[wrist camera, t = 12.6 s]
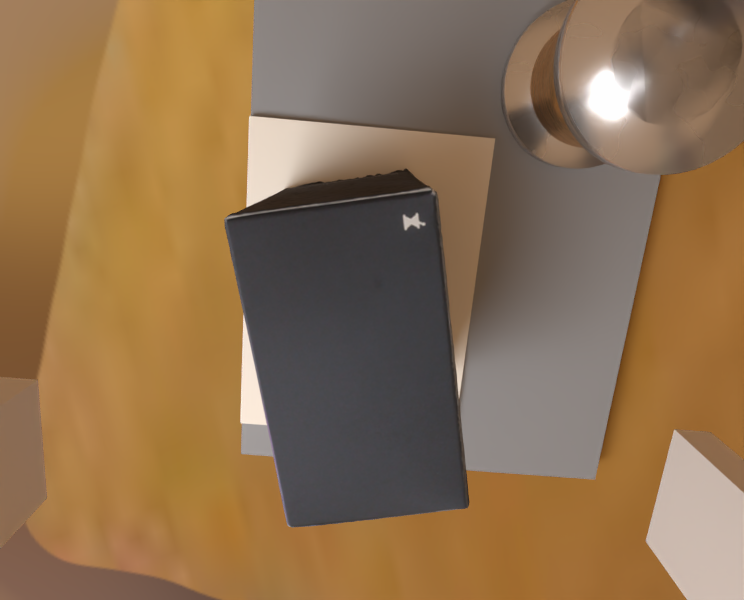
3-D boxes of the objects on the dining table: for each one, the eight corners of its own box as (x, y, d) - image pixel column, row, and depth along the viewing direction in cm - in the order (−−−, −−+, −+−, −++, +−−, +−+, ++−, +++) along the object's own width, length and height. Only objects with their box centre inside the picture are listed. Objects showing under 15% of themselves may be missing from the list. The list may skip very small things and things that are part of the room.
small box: (271, 187, 25) (208, 209, 15) (413, 167, 25) (446, 176, 15) (310, 398, 28) (278, 538, 18) (438, 381, 28) (480, 512, 18)
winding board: (682, -5, 25) (707, -17, 23) (584, 464, 31) (598, 483, 29) (262, -47, 24) (254, -64, 23) (247, 439, 31) (239, 457, 29)
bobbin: (673, 9, 24) (821, -61, 16) (639, 174, 26) (757, 183, 18) (513, -7, 24) (585, -86, 16) (490, 161, 25) (544, 164, 18)
